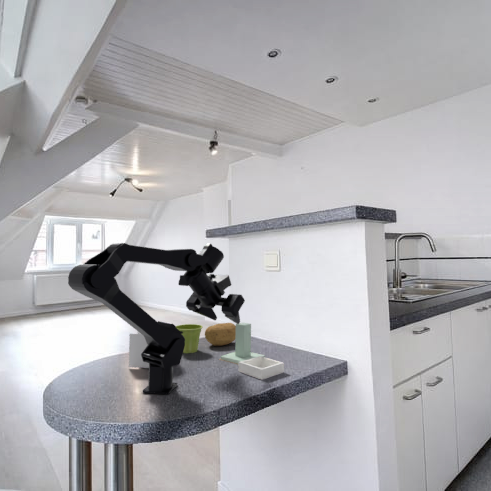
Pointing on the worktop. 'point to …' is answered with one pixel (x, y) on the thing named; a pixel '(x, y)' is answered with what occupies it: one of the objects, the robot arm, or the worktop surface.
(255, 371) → the dish
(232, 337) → the potato
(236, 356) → the mint green stamp
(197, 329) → the plant pot
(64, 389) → the worktop surface
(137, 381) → the worktop surface
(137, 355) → the toilet tissue
